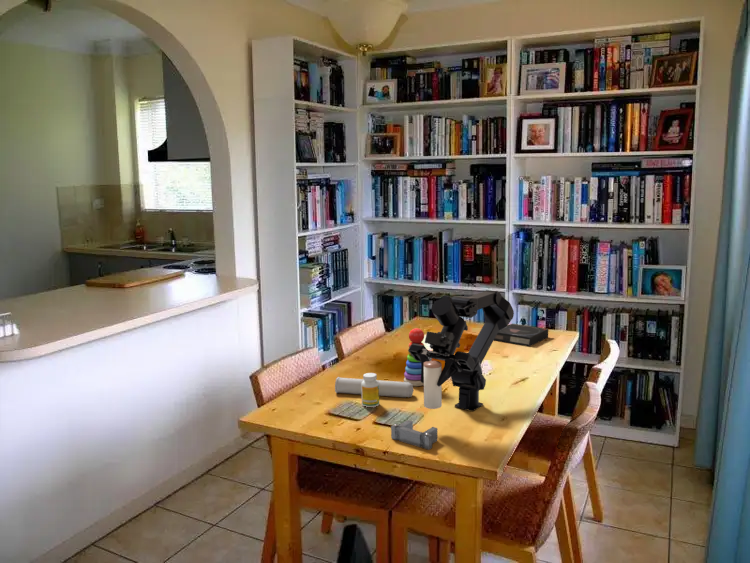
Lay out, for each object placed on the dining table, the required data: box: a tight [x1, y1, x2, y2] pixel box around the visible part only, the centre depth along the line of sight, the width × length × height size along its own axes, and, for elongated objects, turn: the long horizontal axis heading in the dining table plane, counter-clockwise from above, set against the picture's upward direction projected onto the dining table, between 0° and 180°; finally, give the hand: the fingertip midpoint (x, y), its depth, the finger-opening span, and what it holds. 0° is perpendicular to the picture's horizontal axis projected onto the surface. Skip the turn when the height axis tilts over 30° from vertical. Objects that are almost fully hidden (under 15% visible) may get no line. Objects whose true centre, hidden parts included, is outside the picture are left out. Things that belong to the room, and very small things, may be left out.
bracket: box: [390, 419, 439, 450], centre depth 173 cm, size 6×12×4 cm, turn 52°
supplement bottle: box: [361, 372, 380, 408], centre depth 198 cm, size 5×5×10 cm
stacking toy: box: [403, 327, 425, 387], centre depth 216 cm, size 8×8×19 cm
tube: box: [334, 376, 414, 398], centre depth 208 cm, size 5×5×25 cm
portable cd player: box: [494, 323, 549, 348], centre depth 268 cm, size 16×17×4 cm
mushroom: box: [423, 360, 443, 410], centre depth 178 cm, size 5×5×12 cm
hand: (429, 383), depth 176 cm, fingers closed on mushroom, 5 cm apart
